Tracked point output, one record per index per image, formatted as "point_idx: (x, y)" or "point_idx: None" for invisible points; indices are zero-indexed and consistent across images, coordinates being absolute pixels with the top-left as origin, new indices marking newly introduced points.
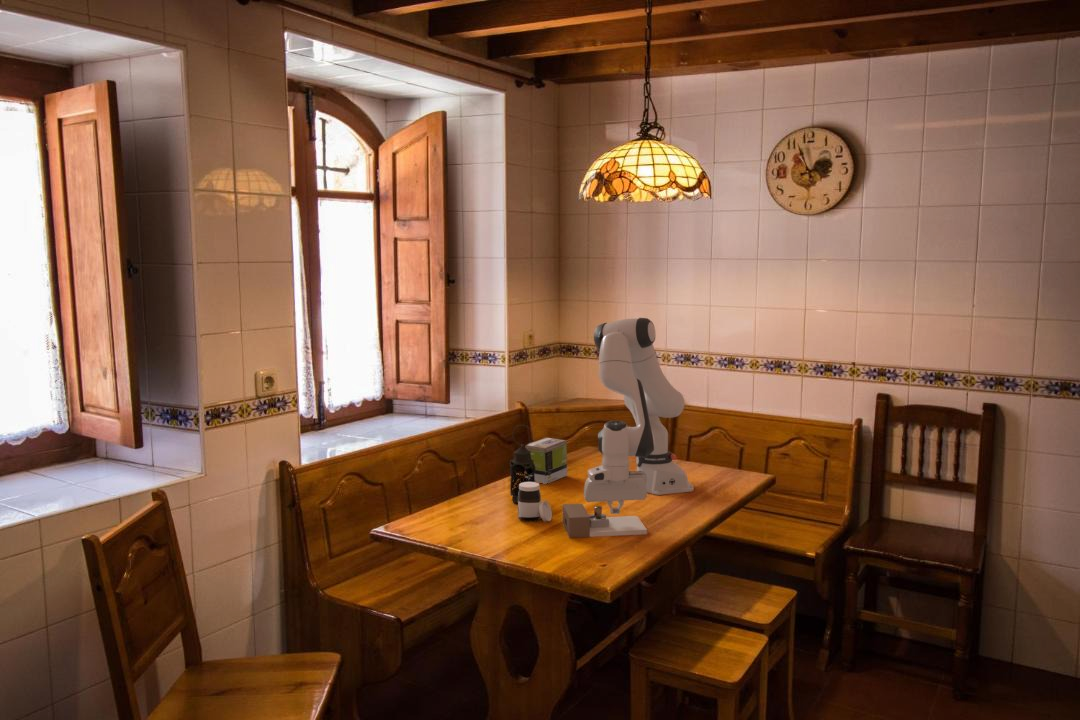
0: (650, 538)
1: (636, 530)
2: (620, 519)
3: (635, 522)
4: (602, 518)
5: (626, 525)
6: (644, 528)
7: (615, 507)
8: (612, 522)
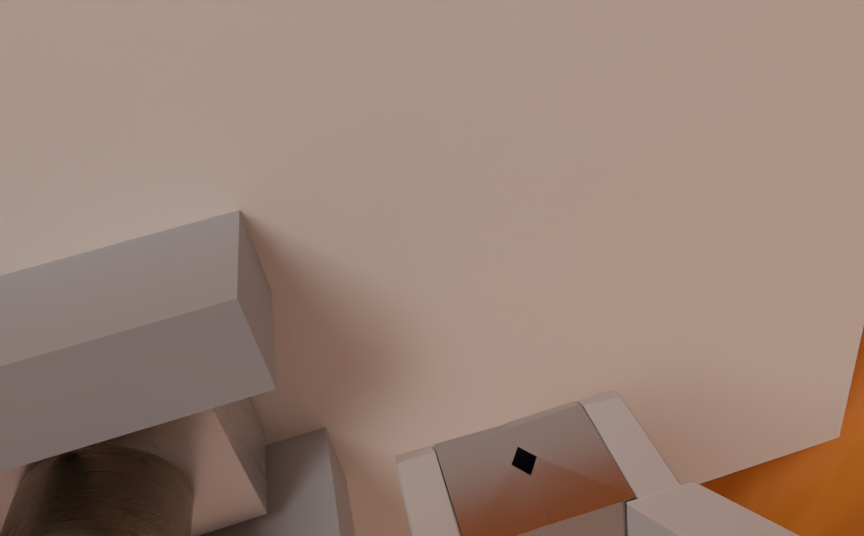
0: (786, 485)
1: (708, 477)
2: (570, 58)
3: (799, 199)
4: (205, 467)
5: (622, 357)
6: (826, 407)
7: (573, 528)
8: (397, 265)
